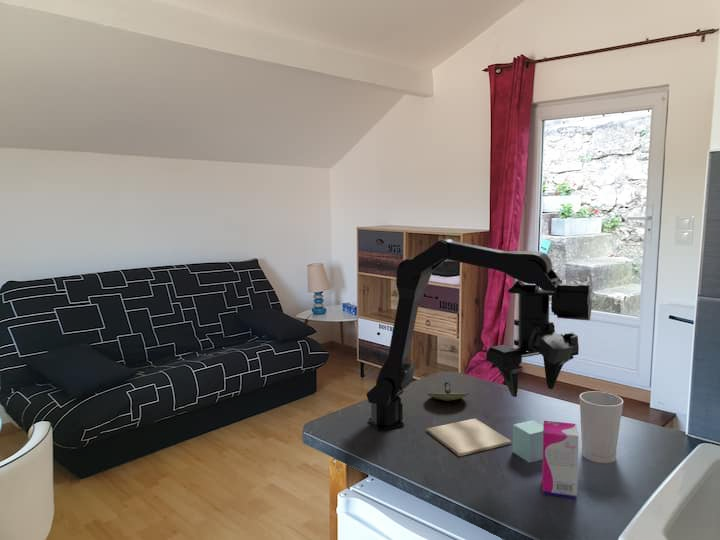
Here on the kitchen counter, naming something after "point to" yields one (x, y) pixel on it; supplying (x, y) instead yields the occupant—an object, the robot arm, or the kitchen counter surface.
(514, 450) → the teal block
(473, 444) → the pad
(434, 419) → the kitchen counter surface
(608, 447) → the cup
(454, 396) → the lid
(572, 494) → the supplement box
